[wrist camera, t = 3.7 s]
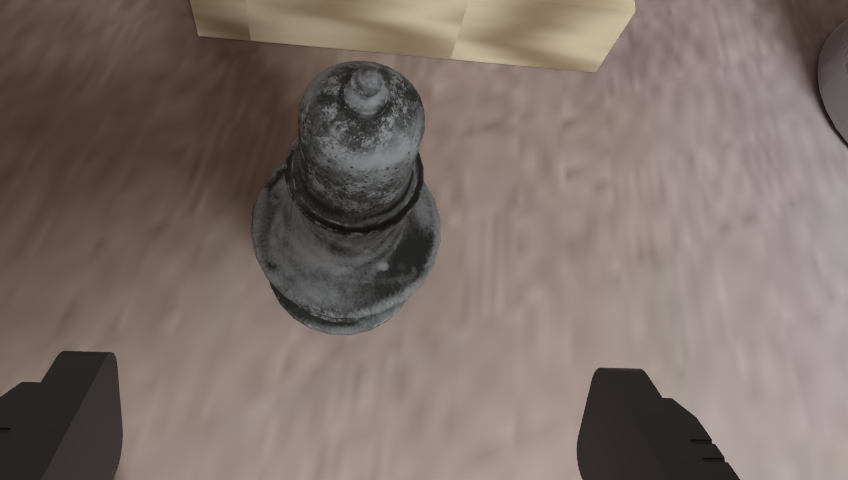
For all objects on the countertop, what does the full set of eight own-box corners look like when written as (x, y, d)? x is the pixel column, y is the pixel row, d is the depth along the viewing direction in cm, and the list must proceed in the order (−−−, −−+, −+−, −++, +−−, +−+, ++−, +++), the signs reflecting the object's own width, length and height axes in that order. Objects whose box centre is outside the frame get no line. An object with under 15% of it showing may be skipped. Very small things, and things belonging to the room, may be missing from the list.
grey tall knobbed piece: (254, 192, 26) (212, -46, 15) (413, 182, 27) (485, -46, 16) (263, 352, 24) (223, 215, 13) (434, 334, 25) (534, 195, 14)
